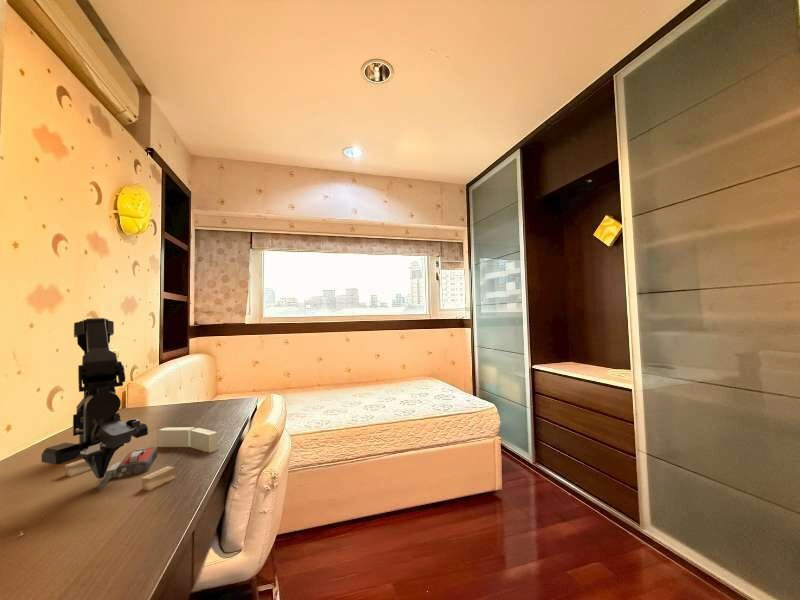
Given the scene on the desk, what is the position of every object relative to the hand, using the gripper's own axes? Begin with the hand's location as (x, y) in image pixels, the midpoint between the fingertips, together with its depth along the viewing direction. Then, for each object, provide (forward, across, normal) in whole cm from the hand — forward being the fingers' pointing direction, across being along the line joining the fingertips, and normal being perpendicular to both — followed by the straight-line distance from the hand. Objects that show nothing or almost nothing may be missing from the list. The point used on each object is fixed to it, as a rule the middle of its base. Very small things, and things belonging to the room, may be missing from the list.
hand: (100, 478), depth 80 cm
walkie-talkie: (+2, +7, 0) cm, 7 cm away
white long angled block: (+2, +22, 0) cm, 22 cm away
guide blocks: (+1, +4, 0) cm, 4 cm away
